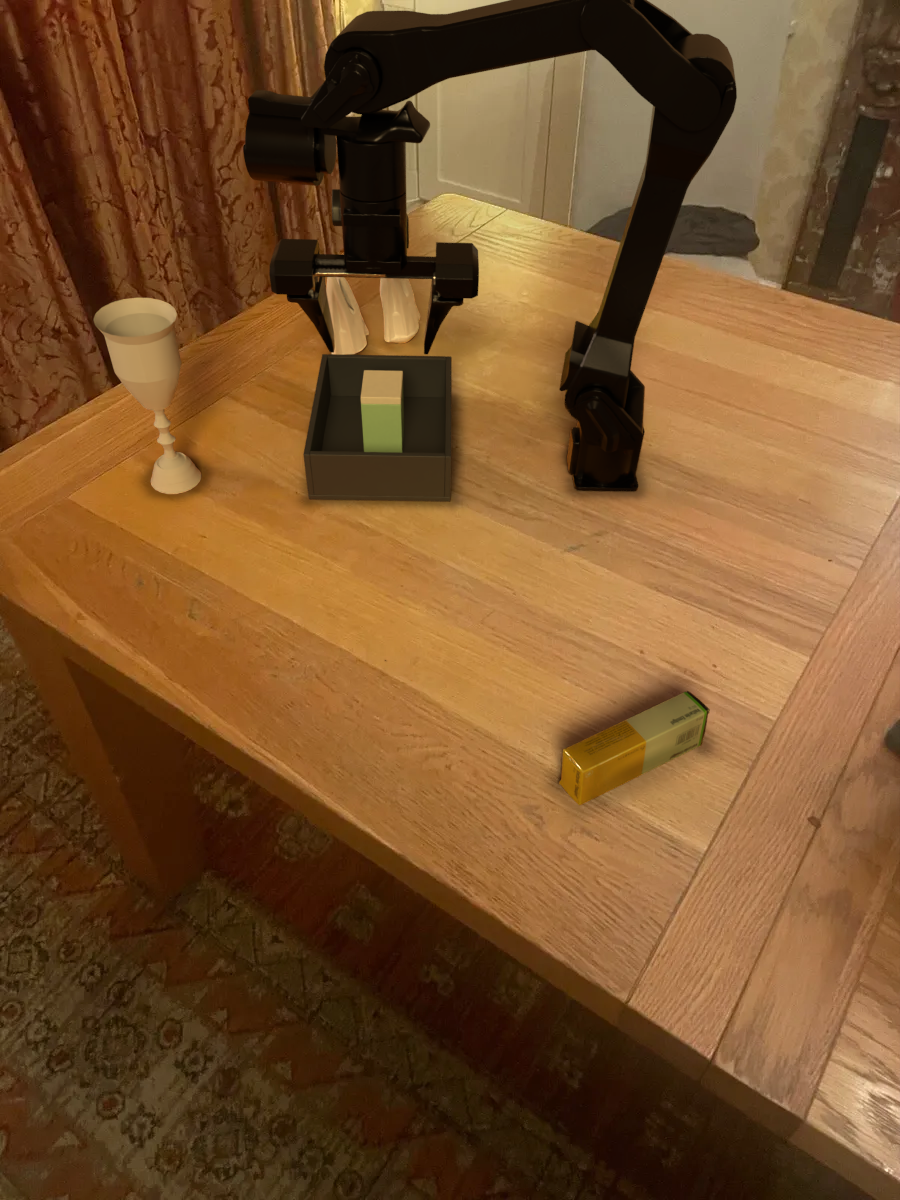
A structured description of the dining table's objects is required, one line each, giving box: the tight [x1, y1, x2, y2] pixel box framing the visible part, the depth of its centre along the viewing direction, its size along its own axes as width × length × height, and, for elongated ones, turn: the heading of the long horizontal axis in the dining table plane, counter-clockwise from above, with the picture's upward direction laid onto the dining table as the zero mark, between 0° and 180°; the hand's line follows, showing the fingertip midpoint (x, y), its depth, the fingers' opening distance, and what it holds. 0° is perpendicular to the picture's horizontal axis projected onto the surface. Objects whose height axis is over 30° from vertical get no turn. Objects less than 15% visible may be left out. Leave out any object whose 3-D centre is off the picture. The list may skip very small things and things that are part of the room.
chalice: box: [93, 297, 202, 495], centre depth 86 cm, size 7×7×18 cm
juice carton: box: [361, 370, 404, 453], centre depth 94 cm, size 4×5×7 cm
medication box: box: [558, 690, 711, 806], centre depth 68 cm, size 12×3×4 cm, turn 119°
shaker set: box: [326, 277, 421, 355], centre depth 108 cm, size 12×4×11 cm, turn 108°
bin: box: [302, 353, 453, 503], centre depth 95 cm, size 14×18×6 cm
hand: (379, 351), depth 89 cm, fingers open, 9 cm apart
